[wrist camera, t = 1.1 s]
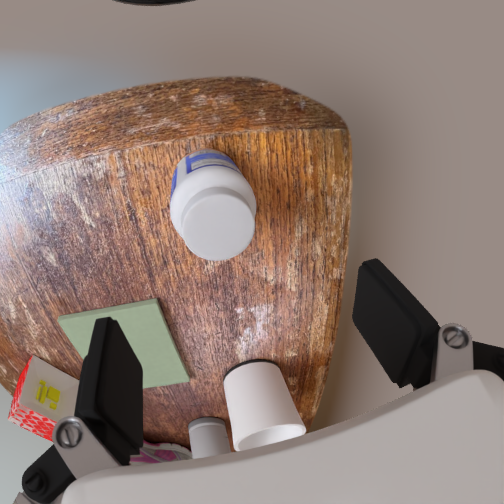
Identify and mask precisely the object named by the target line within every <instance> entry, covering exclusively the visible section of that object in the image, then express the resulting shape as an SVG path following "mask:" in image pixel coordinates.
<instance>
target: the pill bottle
mask: <svg viewBox="0 0 504 504" xmlns="http://www.w3.org/2000/svg"><path fill="white" fill-rule="evenodd" d="M255 214H256V200H255V196H254V193H253V190H252V188H251V186H250V185H249V183H248V182H247V180H246V179H245V177H244V176H243V175H242V173H241V172H240V170H239V169H238V168H237V166H236V165H235V164H234V162H233V161H232V160H231V159H230V158H229V157H228V156H227V155H226V154H224V153H223V152H221V151H218V150H215V149H210V148H204V149H198V150H195V151H193V152H191V153H189V154H187V155H186V156H185V157H183V158H182V159H181V160H180V162H179V163H178V164H177V166H176V168H175V170H174V173H173V177H172V188H171V200H170V215H171V220H172V223H173V225H174V227H175V229H176V231H177V232H178V233H179V235H180V236H181V237H182V238H183V239H184V241H185V243H186V245H187V247H188V248H189V249H190V250H191V251H192V252H193V253H194V254H195V255H197V256H199V257H201V258H203V259H207V260H212V261H221V260H227V259H230V258H232V257H235V256H237V255H238V254H240V253H241V252H242V251H243V250H245V249H246V247H247V246H248V245H249V244H250V242H251V240H252V238H253V235H254V232H255V219H254V218H255Z"/></svg>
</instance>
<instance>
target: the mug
mask: <svg viewBox="0 0 504 504" xmlns="http://www.w3.org/2000/svg"><path fill="white" fill-rule="evenodd" d="M223 384H224V390H225V395H226V401H227V406H228V412H229V417H230V422H231V427H232V435H233V444H234V449H235V450H236V451H242V450H247V449H251V448H256V447H260V446H264V445H268V444H272V443H276V442H280V441H284V440H287V439H291V438H294V437H298V436H301V435H304V434H305V432H306V428H305V425H304V423H303V422H302V420H301V418H300V416H299V414H298V412H297V410H296V408H295V405H294V403H293V400H292V398H291V395H290V393H289V390H288V388H287V386H286V383H285V381H284V378H283V376H282V373H281V371H280V368H279V367H278V366H277V364H275V363H273V362H271V361H268V360H262V359H256V360H249V361H246V362H242V363H240V364H238V365H236V366H234V367H233V368H231V369H230V370H229V371H228V372H227V373H226V375H225V377H224V379H223Z"/></svg>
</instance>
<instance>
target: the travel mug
mask: <svg viewBox="0 0 504 504" xmlns="http://www.w3.org/2000/svg"><path fill="white" fill-rule="evenodd" d="M188 429H189V436H190V444H191V451H192V457H193V459H196V458H203V457H210V456H216V455H221V454H227V453H231V450H230V446H229V441H228V437H227V432H226V427H225V423H224V421H223V420H221V419H219V418H215V417H203V418H199V419H196V420H194V421H192V422H191V423H190V424H189V425H188Z"/></svg>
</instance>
